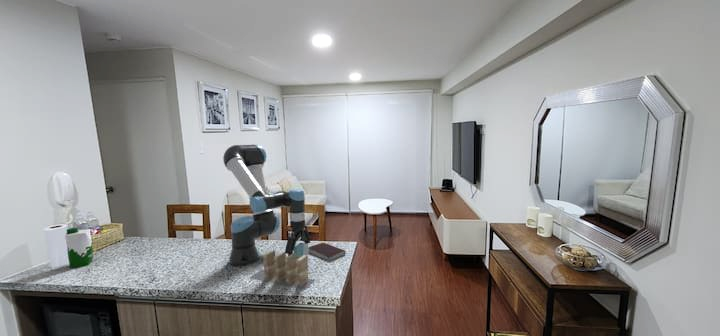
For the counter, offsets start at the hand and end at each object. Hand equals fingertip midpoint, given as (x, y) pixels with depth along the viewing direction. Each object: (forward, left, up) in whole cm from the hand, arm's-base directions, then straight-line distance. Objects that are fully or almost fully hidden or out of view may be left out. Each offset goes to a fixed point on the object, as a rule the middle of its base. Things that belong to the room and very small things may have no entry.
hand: (299, 260), depth 144 cm
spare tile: (0, 0, -4) cm, 4 cm away
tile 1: (+11, -14, -3) cm, 18 cm away
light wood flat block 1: (-7, -14, -3) cm, 16 cm away
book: (+5, +21, -5) cm, 22 cm away
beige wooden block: (-1, -14, -3) cm, 14 cm away
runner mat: (-1, -14, -4) cm, 15 cm away
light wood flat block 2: (+5, -14, -3) cm, 15 cm away
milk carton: (-113, -36, -4) cm, 119 cm away
